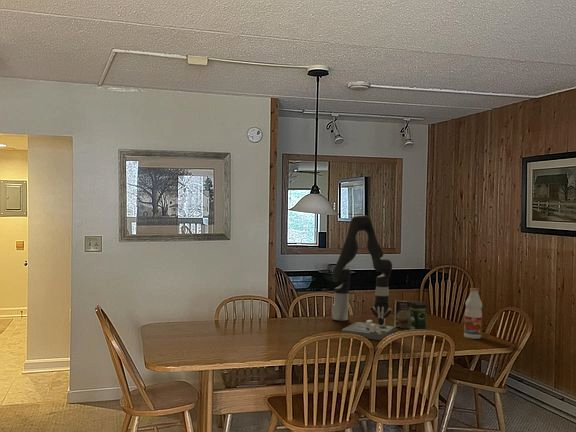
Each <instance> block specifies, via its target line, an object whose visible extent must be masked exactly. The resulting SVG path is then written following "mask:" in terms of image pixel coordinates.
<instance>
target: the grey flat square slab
mask: <svg viewBox="0 0 576 432" xmlns="http://www.w3.org/2000/svg"><path fill="white" fill-rule="evenodd" d="M375 324H376V331H375V332H369V328H366V322H358V321H355V322H354V323H353V322H352V324H349V325H347V326H346V327H344V328H342V329H341V330H340V331H341V332H350V333H356V334H359V335H362V336H364V337H366V338H365V339H369V340H370V339H371V340H376V341H382V340H381V339H383V338H384V337H385V336H387V335H389V334H391V333H393V332H394V333H396V327H395V326H394V325H385V326H383V327H380V326H379V324H377V323H375ZM394 333H393V334H394ZM391 335H392V334H391Z"/></svg>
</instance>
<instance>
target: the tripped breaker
mask: <svg viewBox="0 0 576 432" xmlns="http://www.w3.org/2000/svg"><path fill="white" fill-rule="evenodd" d="M365 323H366V328H369V327H370V324H372V323H373V319H368V320H366V321H365Z"/></svg>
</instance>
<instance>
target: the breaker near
mask: <svg viewBox="0 0 576 432" xmlns="http://www.w3.org/2000/svg"><path fill="white" fill-rule="evenodd" d="M376 324H377V323H373V322H372V324H370V327H369V332H375V331H376Z"/></svg>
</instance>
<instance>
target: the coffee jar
mask: <svg viewBox="0 0 576 432" xmlns="http://www.w3.org/2000/svg"><path fill="white" fill-rule="evenodd" d="M426 314H427V302H425V301H422V300H421V301H419V300H418V301H411V303H410V324H409V328H408V331H409V330H411V329H426V330H427V325H426V322H427V321H426Z"/></svg>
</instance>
